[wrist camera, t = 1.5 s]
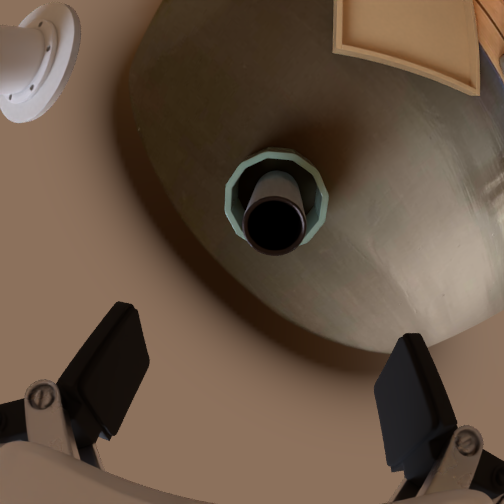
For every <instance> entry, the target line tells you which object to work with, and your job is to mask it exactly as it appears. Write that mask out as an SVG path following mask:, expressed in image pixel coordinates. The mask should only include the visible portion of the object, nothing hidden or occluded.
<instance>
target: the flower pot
mask: <svg viewBox="0 0 504 504" xmlns="http://www.w3.org/2000/svg"><path fill="white" fill-rule="evenodd" d="M499 62H500V66H501V69H502V71H503V74H504V54H503V55H502V56H501V57H500V59H499Z"/></svg>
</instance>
